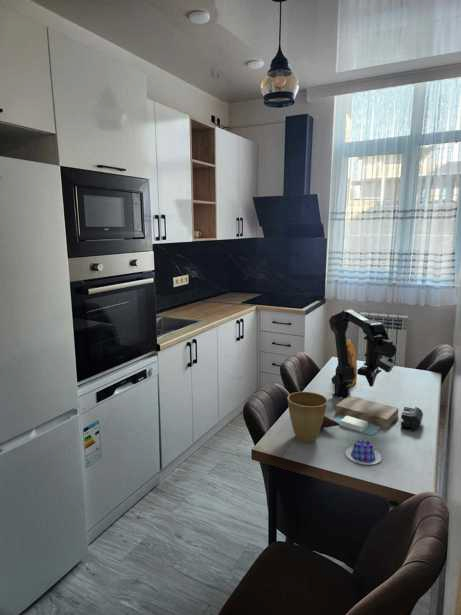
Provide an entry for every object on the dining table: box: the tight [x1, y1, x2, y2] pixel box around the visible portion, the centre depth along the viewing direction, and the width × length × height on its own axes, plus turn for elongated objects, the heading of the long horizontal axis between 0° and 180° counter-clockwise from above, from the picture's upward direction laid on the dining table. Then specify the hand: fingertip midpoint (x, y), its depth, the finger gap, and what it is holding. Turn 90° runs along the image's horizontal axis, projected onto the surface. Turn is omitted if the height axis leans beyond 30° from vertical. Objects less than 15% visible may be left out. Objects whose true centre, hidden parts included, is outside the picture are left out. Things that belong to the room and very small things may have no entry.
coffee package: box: [346, 339, 358, 387], centre depth 213 cm, size 10×12×22 cm
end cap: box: [400, 406, 424, 432], centre depth 164 cm, size 10×7×7 cm
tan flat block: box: [335, 395, 399, 429], centre depth 174 cm, size 22×14×4 cm, turn 50°
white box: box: [340, 416, 368, 432], centre depth 164 cm, size 9×6×2 cm, turn 50°
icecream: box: [319, 415, 340, 431], centre depth 162 cm, size 7×7×15 cm
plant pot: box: [287, 391, 328, 443], centre depth 154 cm, size 15×15×16 cm
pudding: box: [345, 439, 382, 466], centre depth 142 cm, size 12×12×5 cm
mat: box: [332, 414, 382, 437], centre depth 165 cm, size 18×9×1 cm, turn 50°
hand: (371, 386), depth 175 cm, fingers closed
